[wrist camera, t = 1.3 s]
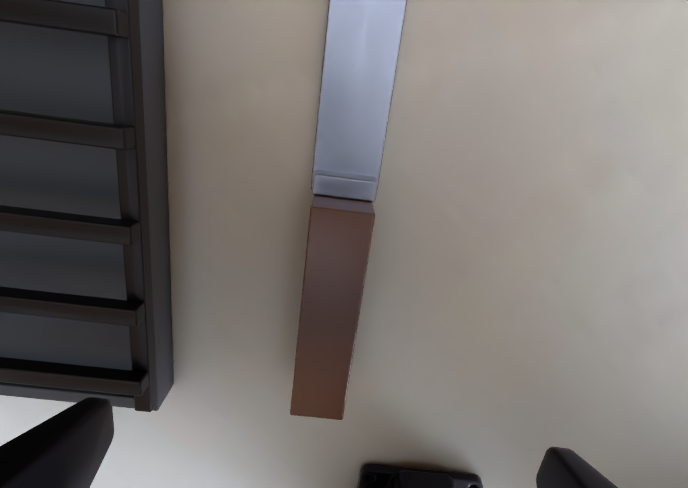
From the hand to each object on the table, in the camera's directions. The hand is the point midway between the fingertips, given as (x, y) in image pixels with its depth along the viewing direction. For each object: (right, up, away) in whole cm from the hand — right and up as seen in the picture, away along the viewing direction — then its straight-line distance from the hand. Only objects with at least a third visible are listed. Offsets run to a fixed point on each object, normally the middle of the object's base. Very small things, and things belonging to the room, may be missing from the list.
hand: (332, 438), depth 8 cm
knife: (0, +8, +7) cm, 11 cm away
